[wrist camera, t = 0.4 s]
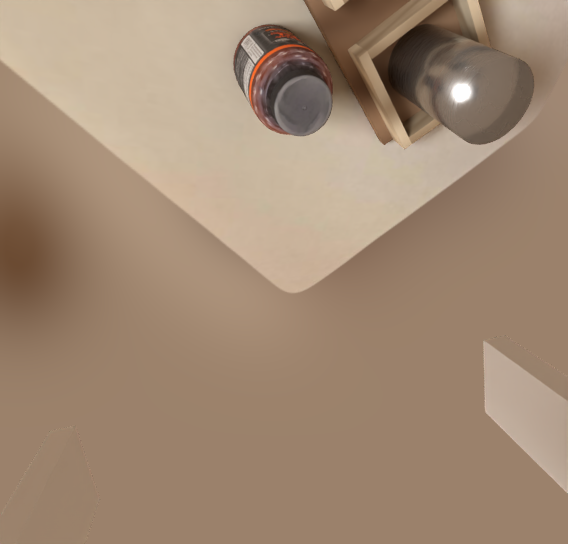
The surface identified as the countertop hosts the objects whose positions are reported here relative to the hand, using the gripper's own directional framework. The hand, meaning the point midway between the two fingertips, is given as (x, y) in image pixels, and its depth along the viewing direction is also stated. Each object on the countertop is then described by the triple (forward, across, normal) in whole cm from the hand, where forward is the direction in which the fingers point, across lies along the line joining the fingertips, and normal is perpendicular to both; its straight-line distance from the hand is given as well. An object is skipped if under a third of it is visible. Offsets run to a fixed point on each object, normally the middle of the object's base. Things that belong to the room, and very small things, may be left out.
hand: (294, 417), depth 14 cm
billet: (+29, +18, +13) cm, 36 cm away
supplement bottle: (+29, +4, +15) cm, 33 cm away
